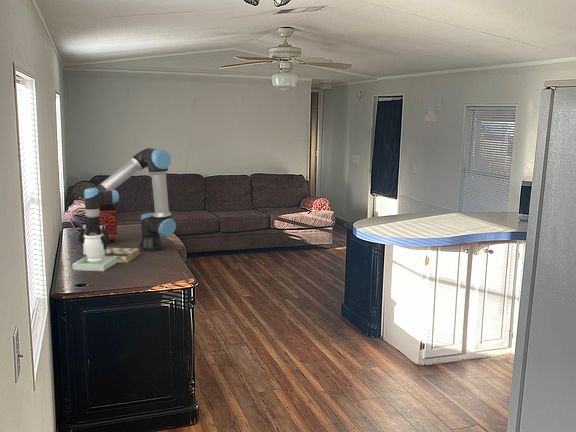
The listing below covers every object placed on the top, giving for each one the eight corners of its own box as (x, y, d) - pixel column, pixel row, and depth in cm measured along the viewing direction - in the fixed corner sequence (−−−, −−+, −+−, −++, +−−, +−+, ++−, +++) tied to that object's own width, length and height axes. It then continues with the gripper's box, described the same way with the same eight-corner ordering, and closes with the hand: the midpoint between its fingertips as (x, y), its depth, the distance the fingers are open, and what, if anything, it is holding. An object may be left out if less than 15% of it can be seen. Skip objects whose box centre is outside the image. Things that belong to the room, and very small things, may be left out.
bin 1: (116, 262, 334) (116, 256, 333) (103, 271, 316) (103, 265, 316) (87, 261, 336) (87, 255, 335) (72, 270, 318) (72, 263, 318)
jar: (86, 263, 318) (85, 237, 316) (83, 259, 327) (82, 233, 325) (106, 261, 323) (105, 235, 321) (103, 257, 332) (101, 231, 330)
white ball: (136, 254, 352) (136, 249, 352) (134, 256, 349) (134, 250, 349) (131, 254, 353) (131, 249, 352) (129, 255, 350) (129, 250, 349)
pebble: (112, 253, 354) (111, 248, 353) (110, 255, 351) (109, 250, 350) (107, 253, 354) (107, 248, 354) (105, 254, 351) (104, 249, 351)
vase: (117, 239, 391) (114, 196, 386) (117, 244, 379) (115, 199, 373) (95, 241, 387) (93, 197, 381) (95, 245, 374) (93, 200, 369)
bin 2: (139, 254, 354) (139, 248, 353) (127, 262, 334) (127, 256, 334) (105, 252, 356) (105, 247, 355) (91, 261, 337) (91, 255, 336)
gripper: (114, 215, 323) (116, 253, 327) (76, 214, 326) (78, 252, 330) (109, 217, 316) (111, 256, 320) (69, 216, 318) (72, 255, 322)
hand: (94, 254), depth 325 cm, fingers closed on jar, 10 cm apart
